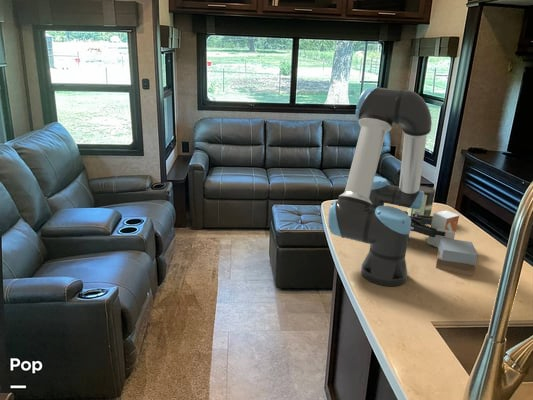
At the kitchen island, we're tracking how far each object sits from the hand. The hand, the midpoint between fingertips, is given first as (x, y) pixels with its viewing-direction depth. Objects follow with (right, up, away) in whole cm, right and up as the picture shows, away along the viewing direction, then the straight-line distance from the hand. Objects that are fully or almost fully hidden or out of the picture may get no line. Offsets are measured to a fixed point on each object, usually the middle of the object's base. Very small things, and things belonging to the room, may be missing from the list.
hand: (455, 230), depth 164 cm
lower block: (-5, -12, -11) cm, 17 cm away
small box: (-4, -6, +4) cm, 8 cm away
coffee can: (-4, +4, +31) cm, 31 cm away
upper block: (-5, -8, -12) cm, 16 cm away
